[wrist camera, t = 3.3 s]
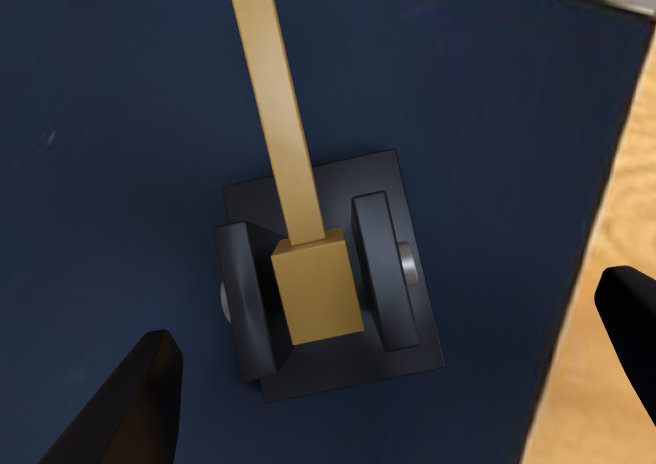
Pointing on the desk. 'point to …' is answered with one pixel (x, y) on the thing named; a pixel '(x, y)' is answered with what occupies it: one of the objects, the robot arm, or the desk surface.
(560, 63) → the desk surface
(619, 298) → the robot arm
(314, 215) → the latch lever
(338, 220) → the latch bracket
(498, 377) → the desk surface
